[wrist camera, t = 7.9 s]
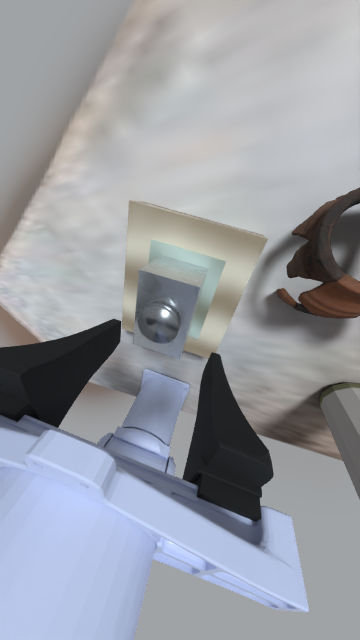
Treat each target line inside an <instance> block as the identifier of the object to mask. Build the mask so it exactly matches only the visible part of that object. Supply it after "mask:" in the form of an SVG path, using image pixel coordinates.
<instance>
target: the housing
mask: <svg viewBox="0 0 360 640" xmlns="http://www.w3.org/2000/svg"><path fill="white" fill-rule="evenodd" d="M208 269H209V268H206V267H203V266H199V265H195V264H192V263H188V262H185V261H181V260H177V259H174V258H170V257H167V256H163V255H162V256H160V257H158V258H157V259H155V260H153V261H152V262H150V263H149V264H147V265H145V266H144V267H142V268H140V269H139V274H138V286H137V299H136V312H135V324H134V337H133V344H135V345H138V346H141V347H144V348H147V349H150V350H153V351H156V352H159V353H162V354H165V355H168V356H171V357H174V358H177V359H180V358H181V355H182V352H183V350H184V347H185V344H186V341H187V338H188V336H189V333H190V330H191V327H192V324H193V320H194V317H195V313H196V310H197V307H198V303H199V300H200V296H201V293H202V289H203V286H204V283H205V279H206V276H207V272H208Z"/></svg>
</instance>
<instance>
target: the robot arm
mask: <svg viewBox="0 0 360 640" xmlns="http://www.w3.org/2000/svg"><path fill="white" fill-rule="evenodd" d="M120 335H121V321H119V320H116V319H112V320H110V321H107V322H105V323H102V324H100V325H98V326H95V327H93V328H90V329H88V330H85V331H82V332H79V333H77V334H74V335H70V336H67V337H63V338H60V339H56V340H51V341H46V342H42V343H36V344H30V345H22V346H13V347H2V348H0V640H134V637H135V633H136V628H137V624H138V620H139V616H140V611H141V607H142V602H143V598H144V594H145V589H146V585H147V581H148V577H149V573H150V568H151V564H152V560H153V559H154V560H157V561H159V562H161V563H164V564H166V565H169V566H172V567H174V568H176V569H179V570H181V571H184V572H187V573H189V574H192V575H194V576H196V577H199V578H202V579H204V580H207V581H209V582H212V583H214V584H217V585H219V586H221V587H224V588H226V589H229V590H231V591H234V592H236V593H238V594H241V595H243V596H245V597H248V598H250V599H253V600H255V601H257V602H259V603H261V604H263V605H266V606H268V607H270V608H272V609H275V610H287V611H299V612H308V611H309V607H308V601H307V597H306V591H305V586H304V580H303V575H302V570H301V565H300V559H299V554H298V549H297V544H296V539H295V533H294V528H293V523H292V518H291V517H290V516H289V515H287V514H285V513H282V512H280V511H277V510H275V509H272V508H270V507H267V506H260V498H261V497H262V490H261V487H262V486H263V485H264V484H266V483H267V482H269V481H270V480H271V479H272V478H273V468H272V462H271V458H270V454H269V450H268V449H267V448H266V446H265V445H264V444H263V442H262V441H261V440H260V439H259V437H258V436H257V435H256V433H255V432H254V430H253V429H252V427H251V426H250V424H249V423H248V421H247V420H246V418H245V416H244V415H243V413H242V411H241V410H240V408H239V406H238V404H237V402H236V400H235V398H234V396H233V393H232V391H231V389H230V386H229V384H228V381H227V378H226V375H225V372H224V368H223V365H222V361H221V356H220V355H219V354H216V353H213V352H211V355H210V357H209V359H208V362H207V364H206V366H205V369H204V371H203V375H202V380H201V385H200V393H199V402H198V411H197V417H196V422H195V427H194V432H193V436H192V441H191V445H190V449H189V454H188V458H187V463H186V466H185V471H184V475H183V479H180V478H178V477H175V476H174V474H175V463H174V459H173V457H168V456H169V452H170V447H169V446H170V442H171V439H172V435H173V431H174V428H175V424H176V420H177V417H178V415H179V412H180V410H181V408H182V405H183V403H184V400H185V398H186V395H187V393H188V390H189V388H190V385H189V384H187V383H184V382H181V381H178V380H176V379H173V378H170V377H167V376H165V375H162V374H159V373H156V372H154V371H151V370H148V369H144V371H143V377H142V383H141V389H140V392H139V394H138V396H137V398H136V400H135V402H134V403H133V405H132V407H131V409H130V411H129V413H128V415H127V417H126V419H125V421H124V423H123V425H122V426H121V427H118V428H117V429H116V431H115V433H114V434H113V433H108V434H107V435H106V436H104V437H103V438H101V439H100V441H99V442H98V443H97V444H95V443H93V442H90V441H88V440H85V439H83V438H80V437H78V436H76V435H73V434H71V433H68V432H66V431H64V430H61V429H59V428H58V427H59V425H60V424H61V422H62V420H63V419H64V417H65V415H66V414H67V412H68V410H69V409H70V407H71V406H72V404H73V403H74V401H75V400H76V398H77V397H78V395H79V394H80V392H81V391H82V389H83V388H84V386H85V385H86V384H87V382H88V381H89V380H90V378H91V377H92V376H93V374H94V373H95V372H96V371H97V370H98V369H99V368H100V366H101V365H102V364H103V363H104V362H105V361H106V360H107V359H108V357H109V356H110V355H111V354H112V353H113V352H114V350H115V349H116V347H117V346H118V344H119V343H120Z"/></svg>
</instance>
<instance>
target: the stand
mask: <svg viewBox="0 0 360 640" xmlns="http://www.w3.org/2000/svg"><path fill="white" fill-rule="evenodd" d="M267 240H268V239H267V238H266V237H264V236H263V235H261V234H257V233H253V232H250V231H246V230H243V229H239V228H235V227H232V226H228V225H225V224H221V223H217V222H214V221H210V220H207V219H203V218H199V217H196V216H192V215H189V214H185V213H182V212H178V211H174V210H171V209H167V208H164V207H160V206H156V205H153V204H149V203H146V202H139V201H129V213H128V230H127V248H126V265H125V282H124V300H123V317H122V329H124V330H127V331H130V332H133V333H134V324H135V312H136V299H137V286H138V274H139V269H140V268H142V267H144V266H145V265H147V264H149V263H150V262H152V261H153V260H155V259H157V258H158V257H160V256H162V255H163V256H167V257H170V258H174V259H177V260H181V261H185V262H188V263H192V264H195V265H199V266H203V267H206V268H209V269H208V272H207V276H206V279H205V283H204V286H203V289H202V293H201V296H200V300H199V303H198V307H197V310H196V313H195V317H194V320H193V324H192V327H191V330H190V333H189V336H188V338H187V341H186V344H185V347H184V350H185V351H187V352H190V353H193V354H196V355H199V356H202V357H205V358H208V359H209V357H210V355H211V352H213V353H216V351H217V349H218V347H219V345H220V342H221V340H222V338H223V336H224V334H225V331H226V329H227V327H228V325H229V323H230V320H231V318H232V316H233V314H234V312H235V310H236V307H237V305H238V303H239V301H240V299H241V296H242V294H243V292H244V290H245V288H246V285H247V283H248V281H249V279H250V277H251V275H252V272H253V270H254V268H255V266H256V264H257V261H258V259H259V257H260V255H261V253H262V250H263V248H264V246H265V244H266V242H267Z"/></svg>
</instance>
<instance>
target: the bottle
mask: <svg viewBox="0 0 360 640" xmlns="http://www.w3.org/2000/svg"><path fill="white" fill-rule="evenodd" d="M319 403H320V407H321V409H322V412H323V414H324V416H325V419H326V421H327V424H328V426H329V428H330V431H331V433H332V435H333V438H334V440H335V442H336V445H337V447H338V449H339V452H340V454H341V457H342V459H343V461H344V463H345V466H346V468H347V470H348V473H349V475H350V478H351V480H352V482H353V485H354V487H355V490H356V492H357V494H358V497H359V499H360V384H359V383H343V384H338V385H333V386H331V387H329V388H328V389H326V390H325V391H323V392H322V394H321V396H320V399H319Z"/></svg>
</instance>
